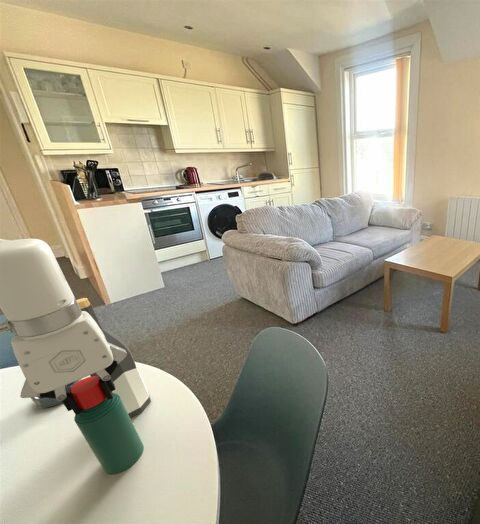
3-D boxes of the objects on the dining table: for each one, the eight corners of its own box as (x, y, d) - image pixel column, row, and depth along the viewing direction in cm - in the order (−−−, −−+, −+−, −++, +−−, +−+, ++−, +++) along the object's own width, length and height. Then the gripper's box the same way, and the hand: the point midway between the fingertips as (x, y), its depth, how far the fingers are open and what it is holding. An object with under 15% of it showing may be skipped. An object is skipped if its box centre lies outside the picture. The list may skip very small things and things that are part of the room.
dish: (26, 413, 69) (20, 404, 68) (51, 385, 77) (46, 376, 76) (70, 403, 71) (65, 394, 70) (90, 377, 79) (86, 369, 78)
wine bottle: (139, 389, 74) (93, 287, 63) (159, 399, 71) (114, 294, 59) (104, 414, 68) (45, 306, 56) (124, 426, 64) (65, 314, 53)
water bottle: (97, 479, 54) (52, 407, 47) (113, 446, 60) (76, 378, 53) (136, 468, 56) (98, 397, 48) (148, 437, 62) (116, 370, 54)
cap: (96, 389, 54) (88, 374, 52) (113, 392, 53) (105, 377, 52) (73, 407, 50) (63, 391, 49) (91, 411, 50) (82, 395, 48)
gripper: (-42, 355, 37) (27, 448, 44) (116, 305, 47) (151, 387, 54) (-28, 330, 42) (32, 417, 49) (112, 290, 52) (145, 367, 60)
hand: (94, 401), depth 52 cm, fingers closed on cap, 3 cm apart
